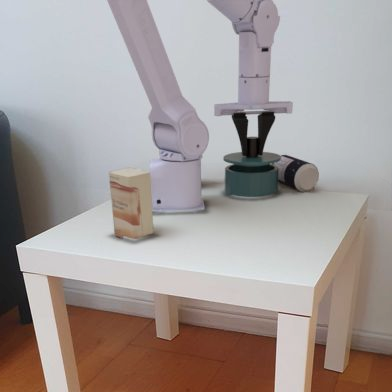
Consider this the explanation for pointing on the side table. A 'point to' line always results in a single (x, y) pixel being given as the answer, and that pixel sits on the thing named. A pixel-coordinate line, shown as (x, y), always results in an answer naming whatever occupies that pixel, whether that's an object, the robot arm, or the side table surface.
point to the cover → (252, 155)
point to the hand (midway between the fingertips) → (251, 154)
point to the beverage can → (297, 173)
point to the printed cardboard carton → (131, 202)
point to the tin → (251, 180)
